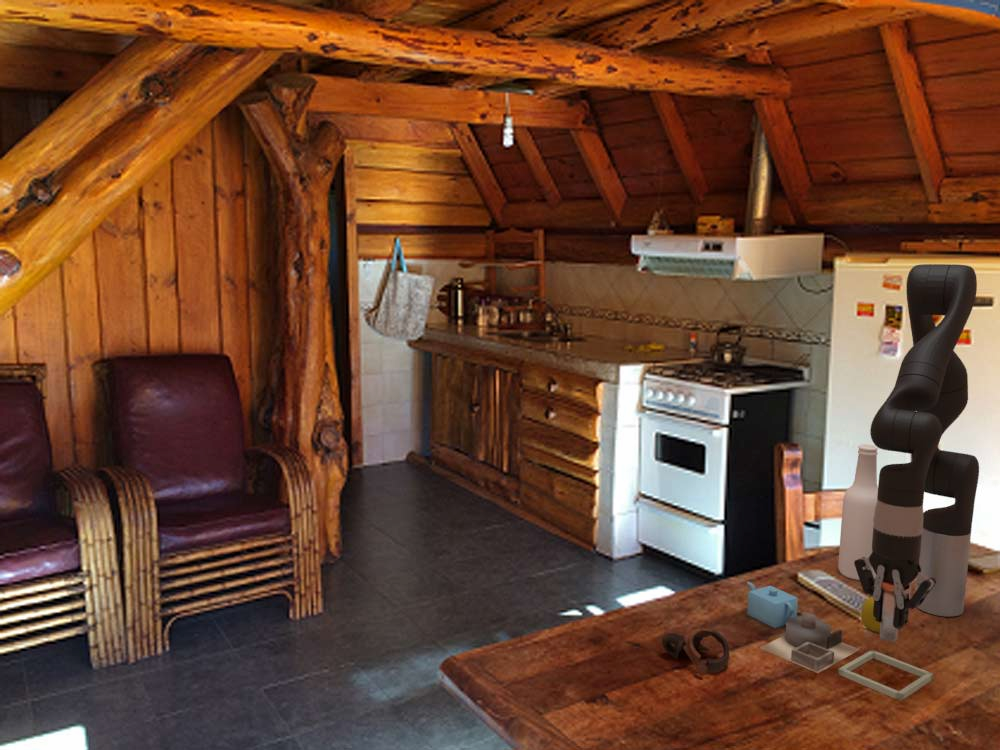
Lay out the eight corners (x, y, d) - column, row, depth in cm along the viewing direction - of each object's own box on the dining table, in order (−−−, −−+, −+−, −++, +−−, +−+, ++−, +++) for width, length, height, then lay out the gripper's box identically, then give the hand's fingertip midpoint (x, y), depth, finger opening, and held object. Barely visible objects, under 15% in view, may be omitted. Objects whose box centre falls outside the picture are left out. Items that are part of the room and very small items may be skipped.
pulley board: (800, 633, 174) (802, 602, 173) (859, 657, 165) (862, 623, 164) (757, 654, 165) (759, 621, 164) (817, 681, 156) (819, 646, 155)
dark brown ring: (721, 657, 166) (735, 631, 161) (717, 701, 158) (732, 675, 153) (658, 636, 167) (670, 610, 162) (651, 679, 160) (663, 652, 155)
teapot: (734, 615, 182) (736, 580, 181) (756, 609, 185) (758, 574, 184) (780, 638, 172) (782, 602, 171) (802, 631, 175) (804, 595, 174)
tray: (870, 662, 163) (871, 649, 162) (932, 687, 154) (933, 673, 154) (837, 682, 156) (838, 668, 155) (900, 709, 147) (901, 694, 147)
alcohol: (878, 584, 198) (888, 452, 193) (836, 577, 202) (845, 448, 197) (880, 570, 206) (890, 444, 201) (839, 564, 210) (848, 439, 205)
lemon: (893, 642, 171) (896, 602, 169) (862, 639, 172) (865, 600, 170) (886, 629, 176) (890, 591, 175) (857, 626, 177) (860, 588, 176)
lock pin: (883, 631, 156) (888, 575, 154) (904, 638, 153) (909, 582, 151) (872, 637, 154) (876, 580, 152) (893, 645, 151) (898, 587, 149)
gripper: (950, 533, 147) (941, 632, 150) (869, 512, 158) (862, 605, 161) (928, 543, 142) (919, 645, 145) (847, 520, 153) (839, 616, 156)
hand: (889, 623), depth 153 cm, fingers closed on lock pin, 2 cm apart
